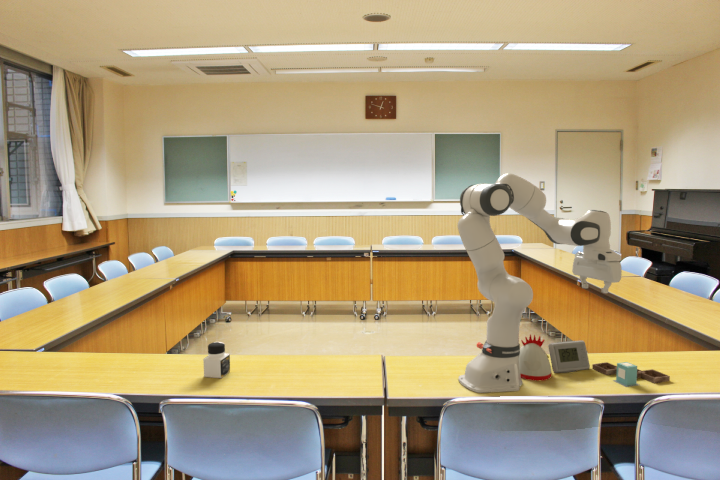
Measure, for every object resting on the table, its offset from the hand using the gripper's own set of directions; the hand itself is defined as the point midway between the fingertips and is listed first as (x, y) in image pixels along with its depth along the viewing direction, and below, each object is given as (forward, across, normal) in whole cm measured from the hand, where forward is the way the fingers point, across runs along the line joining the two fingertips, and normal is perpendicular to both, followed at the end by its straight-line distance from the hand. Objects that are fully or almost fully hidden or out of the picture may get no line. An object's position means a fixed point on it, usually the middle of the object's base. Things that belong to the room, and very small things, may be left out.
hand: (594, 290), depth 175 cm
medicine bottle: (+31, -40, -136) cm, 145 cm away
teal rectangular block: (+31, +13, +3) cm, 34 cm away
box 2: (+31, +8, +10) cm, 34 cm away
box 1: (+31, +2, +5) cm, 32 cm away
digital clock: (+31, -4, -7) cm, 32 cm away
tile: (+31, +13, +2) cm, 34 cm away
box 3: (+31, +14, +15) cm, 37 cm away
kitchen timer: (+31, -5, -23) cm, 39 cm away
